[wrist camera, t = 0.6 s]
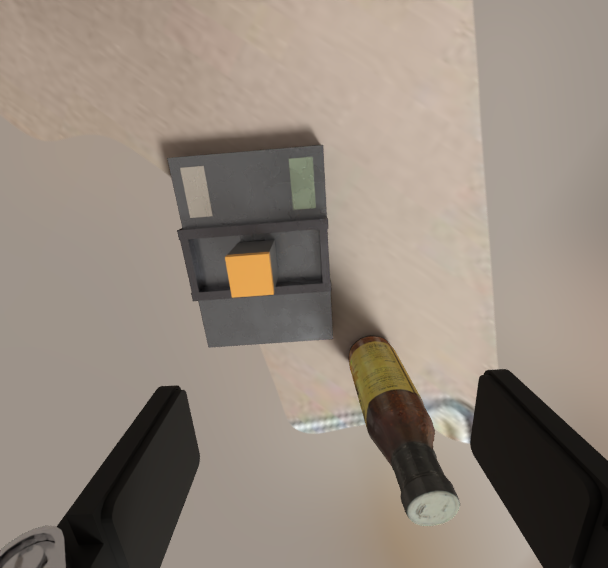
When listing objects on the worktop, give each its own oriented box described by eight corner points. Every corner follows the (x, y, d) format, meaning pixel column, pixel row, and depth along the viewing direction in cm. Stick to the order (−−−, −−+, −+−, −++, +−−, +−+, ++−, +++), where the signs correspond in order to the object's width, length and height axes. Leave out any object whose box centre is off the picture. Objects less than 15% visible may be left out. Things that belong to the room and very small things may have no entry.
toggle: (238, 242, 33) (224, 257, 28) (274, 239, 33) (268, 253, 28) (243, 276, 35) (231, 297, 29) (278, 274, 35) (273, 294, 29)
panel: (175, 158, 32) (160, 157, 29) (321, 146, 32) (323, 143, 29) (212, 339, 40) (204, 354, 37) (331, 330, 40) (334, 345, 36)
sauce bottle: (337, 356, 41) (366, 512, 22) (369, 324, 39) (429, 463, 21) (373, 381, 42) (427, 547, 24) (405, 352, 41) (491, 505, 22)
